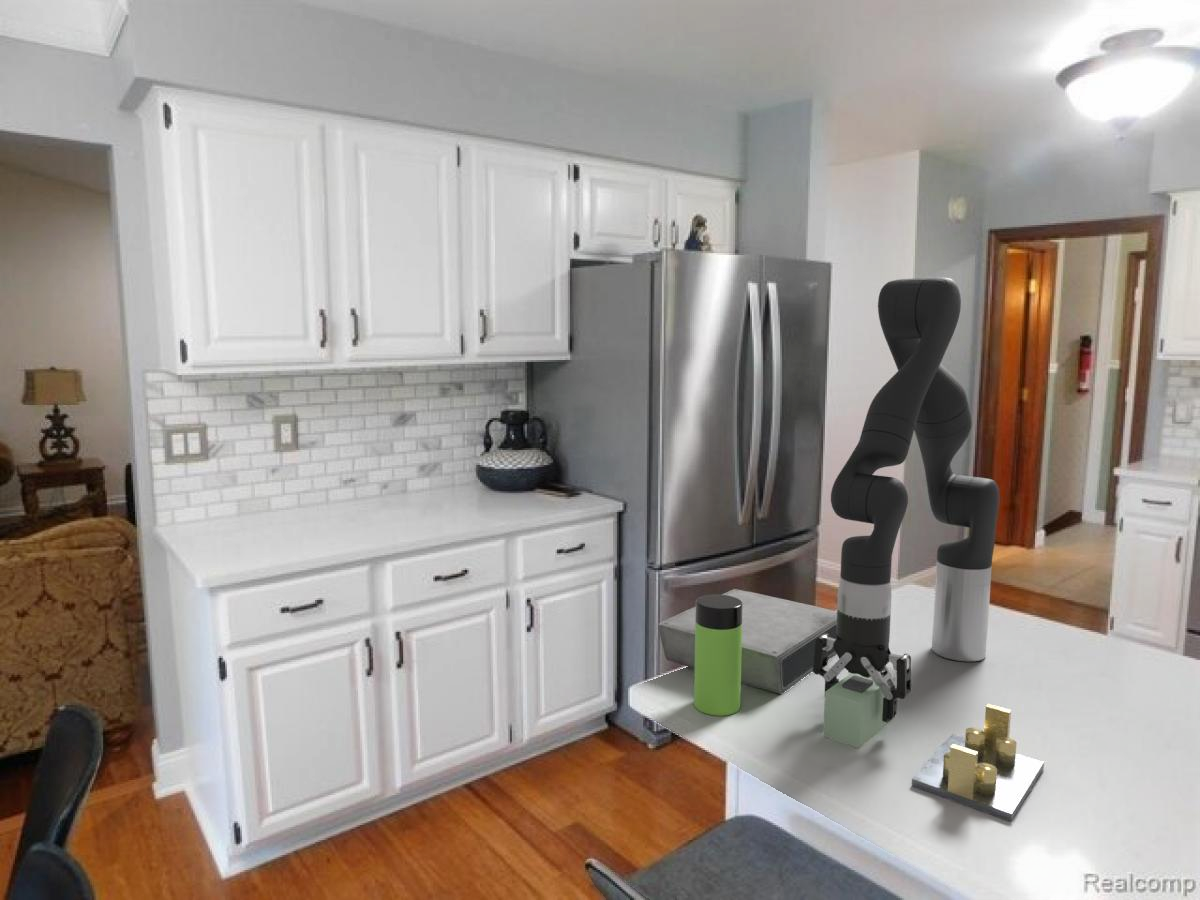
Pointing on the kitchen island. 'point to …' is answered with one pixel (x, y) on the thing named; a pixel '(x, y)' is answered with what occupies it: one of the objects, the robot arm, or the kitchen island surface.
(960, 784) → the metal plate
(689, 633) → the speaker
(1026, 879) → the kitchen island surface
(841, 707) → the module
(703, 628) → the tumbler
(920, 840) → the kitchen island surface
